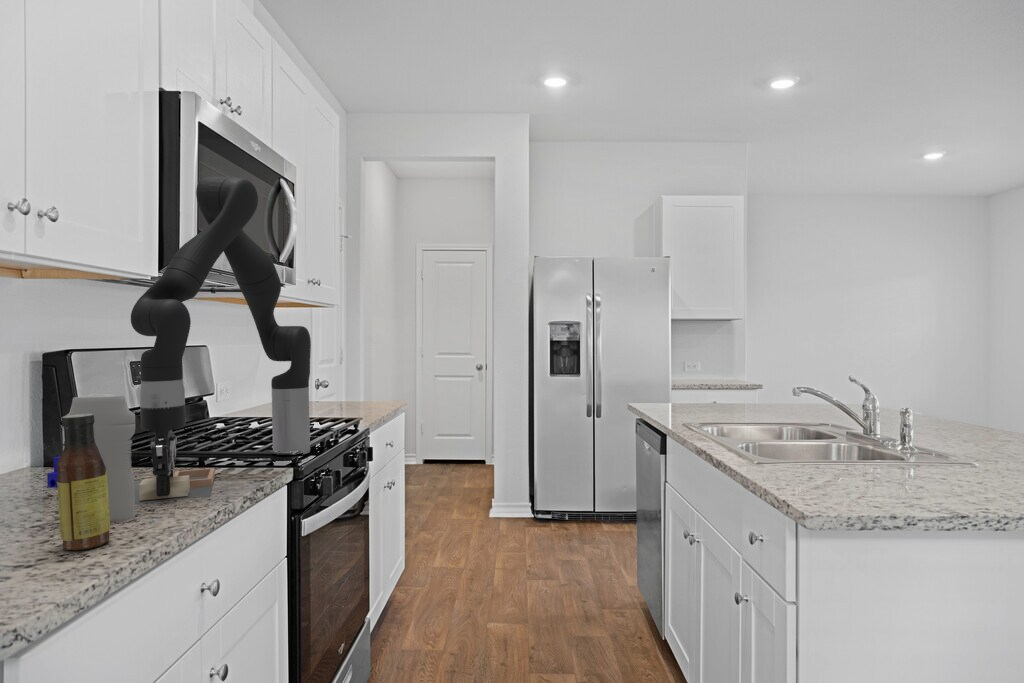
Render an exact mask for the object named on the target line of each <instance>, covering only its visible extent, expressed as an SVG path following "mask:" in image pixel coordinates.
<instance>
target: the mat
mask: <svg viewBox="0 0 1024 683" xmlns="http://www.w3.org/2000/svg"><path fill="white" fill-rule="evenodd" d="M206 478H208V476H202V477H191V478H189V480H195V479H206ZM215 479H216V473H215V476H214V479H213V483H212V486H208V487H197V488H190V491H189V494H188V496H181V497H172V498H162V499H152V500H142V501H139V484H140V483H141V481H142V480H134V495H135V505H139V504H141V505H142V504H148V503H158V502H168V501H169V502H170V501H176V500H177V501H178V500H188V499H189V500H190V499H196V498H198V499H199V498H207V497H211V495H212V492H213V488H214V483H215Z"/></svg>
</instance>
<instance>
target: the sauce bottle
mask: <svg viewBox="0 0 1024 683" xmlns="http://www.w3.org/2000/svg"><path fill="white" fill-rule="evenodd" d="M94 422H95V420H94V415H93V414H75V415H68V416H66V415H64V416H62V417H61V425H62V426H63V427H64V438H65V441H64V444H65V447H64V450H63V449H62V453H61V455H60V458H59V460H58V462H57V474H58V481H57V487H58V488H57V487H56V488H57V498H58V499H57V500H58V501H57V502H58V514H59V516H58V517H59V526H60V527H59V528H60V540H62V547H63V549H64V550H67V551H74V552H75V551H76V552H77V551H83V550H90V549H94V548H97V547H100V546H102V545H105V544H107V543H108V542H109V541H110V535H111V534H110V530H111V522H110V514H109V500H108V486H107V472H106V466H105V464H104V462H103V460H102V457H101V455H100V452H99V450H98V447H97V445H96V443H95V438H94V427H93V424H94ZM62 426H61V427H62Z"/></svg>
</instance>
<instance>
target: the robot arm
mask: <svg viewBox="0 0 1024 683" xmlns="http://www.w3.org/2000/svg"><path fill="white" fill-rule="evenodd" d="M195 195H196V196H195V197H196V202H197V204H198V207H199V210H200V212H201V213H202V216H203V217H204V220H205V221H206V223H207V225H208V226H206V228H204V229H203V230H202V231H200V232H199V233H197V234H196V235H195V236H193V237H192V238H191V239H189V240H188V241H186V242H185V243H184V244H183V245H182V246H180V247H179V249H178V250H177V251H176V252H175V254H174V255H173V256H172V258H171V260H170V262H169V263H168V265H167V266H166V268H165V270H164V271H163V273H162V276H161V277H160V278H159V279H157V281H156V282H154V283H153V284H152V285H151V286H150V287H149V288H148V289H147V290H146V291H145V292H144V293H143V294H142V295H140V297H139V298H138V300H137V301H136V302H135V304H134V305H133V307H132V309H131V313H130V323H131V326H132V328H133V330H134V331H135V332H136V333H138V334H139V335H141V336H143V337H144V336H145V337H156V338H155V342H154V345H153V347H152V348H151V349H148V350H145V351H144V352H143V353H142V354H141V356H140V390H139V407H140V410H139V411H140V412H139V413H140V430H142V431H145V432H154V437H153V438H152V440H150V451H151V463H152V474H153V476H154V477H155V478H156V490H157V496H159V497H160V496H168V495H169V494H170V477H173V475H174V469H175V464H176V456H177V450H176V448H177V447H176V446H177V443H178V442H177V441H178V440H177V436H176V434H175V433H173V430H178V429H182V428H185V427H186V424H187V423H186V398H185V397H186V394H185V393H186V392H185V391H186V390H185V385H184V380H183V379H184V372H183V369H184V368H183V356H184V354H185V351H186V350H185V349H186V346H187V342H188V338H189V334H190V329H191V322H192V321H191V315H190V312H189V309H188V307H187V306H186V304H184V303H183V302H185V301H189V300H191V299H194V298H195V296H196V295H198V294H199V291H201V290H200V289H201V288H202V286H203V285H204V283H205V281H206V280H207V278H208V275H209V273H210V272H211V270H212V268H213V266H214V265H215V263H216V262H217V260H218V259H219V258H220V256H221V255H222V254H224V255H225V257H226V260H227V262H228V263H229V266H230V268H231V270H232V273H233V276H234V278H235V281H236V283H237V284H238V286H239V289H240V292H241V293H242V295H243V298H244V299H245V301H246V302H245V303H246V304H247V306H248V309H249V310H250V313H251V315H252V318H253V321H254V324H255V327H256V330H257V333H258V336H259V339H260V342H261V346H262V348H263V350H264V353H265V355H266V356H267V357H268V359H269V360H271V361H273V362H290V367H289V368H288V369H287V370H286V371H284V372H283V373H281V374H277V375H275V376H273V377H272V378H271V380H270V381H271V416H272V417H271V418H272V419H271V420H272V421H271V422H272V423H271V424H272V428H271V429H272V432H271V433H272V452H273V451H280V452H290V451H297V450H298V451H301V452H302V453H303V454H302V455H305V454H309V453H310V452H311V437H310V436H311V433H310V432H311V429H310V427H311V426H310V425H311V424H310V420H311V419H310V377H311V354H312V353H311V351H312V350H311V349H312V347H311V346H312V344H311V343H312V341H311V335H310V332H309V330H308V328H307V327H305V326H303V325H282V326H281V325H279V324H278V322H277V321H276V317H275V313H274V312H275V308H276V305H277V304H278V300H279V297H280V295H281V291H282V282H281V279H280V277H279V274H278V271H277V269H276V268H277V267H276V266H275V264H274V262H273V260H272V258H271V257H270V255H269V254H268V253H267V252H266V251H265V250H264V249H263V248H262V247H261V246H260V245H258V244H257V243H256V242H255V241H254V240H253V239H252V238H251V237H250V236H249V235H248V234H247V233H246V232H245V231H244V228H245V226H246V225H247V224H248V223H249V222H250V220H251V219H252V218H253V217H254V214H255V213H256V211H257V208H258V205H259V204H258V203H259V195H258V190H257V189H256V186H255V185H254V184H253V183H252V182H251V181H250V180H249V179H247V178H243V177H237V176H236V177H235V176H207V177H206V176H205V177H203V178H201V179H200V180H199V181H198V183H197V185H196V189H195Z"/></svg>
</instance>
